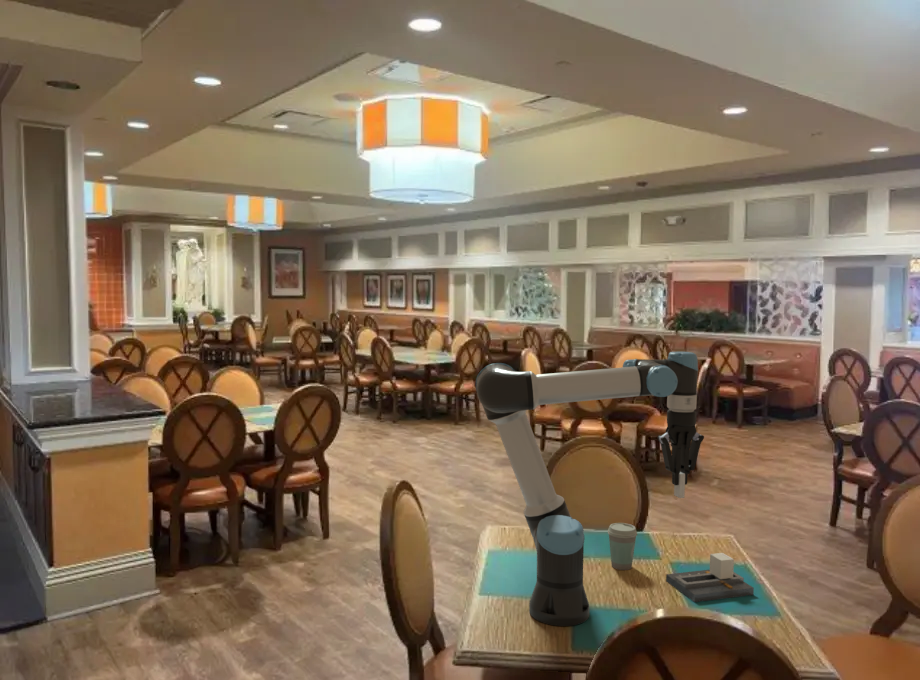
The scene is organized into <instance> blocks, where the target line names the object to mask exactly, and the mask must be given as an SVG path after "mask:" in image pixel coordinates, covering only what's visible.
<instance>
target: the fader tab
mask: <svg viewBox="0 0 920 680" xmlns="http://www.w3.org/2000/svg"><path fill="white" fill-rule="evenodd" d="M734 561H735V559H734V558H732V557H731V556H729V555H727V554H725V553H724V552H717V553H710V554H709V570H710V573H712V574H713V575H715V579H727V578H733V572H734V567H735V565H734V564H735V562H734Z"/></svg>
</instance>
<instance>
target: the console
mask: <svg viewBox="0 0 920 680" xmlns="http://www.w3.org/2000/svg"><path fill="white" fill-rule="evenodd" d="M665 578H666V579H665V580H666V581H665V582H666V583H668V584H669V585H670V586H672V587H673V588H675V589H676V590H678V592H680V593H681V594H683V595H684V596H685V597H687V598H688V599H689V600H691V601H692V602H694V603H699V602H707V601H714V600H716V601H717V600H722V599H730V598H731V599H732V598H740V597H741V598H742V597H747V596H748V595H749V596H754V594H755V592H754V591H755V588H754V587H753V586H752V585H750V584H748V583H747V582H745V581H744V580H745V578H744V577H743V576H741V575H740V574H737V572H735V571H733V578H727V579H715V575H713V574H712V573H710V569H704V570H703V569H702V570H693V571H684V572H677V573H674V572H673V573H668V574H667V573H666V574H665ZM746 595H747V596H746Z"/></svg>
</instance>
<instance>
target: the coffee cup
mask: <svg viewBox="0 0 920 680" xmlns="http://www.w3.org/2000/svg"><path fill="white" fill-rule="evenodd" d="M607 534H608V539H609V541H608V543H609V551H610V560H611V561H610V562H611V568H613V569H615V570H618V571H619V570H620V571H627V570H628V571H629V570H631V569H632V567H633V562H634V554H635V545H636V539H637V536H638V532H637V527H636V526H635V525H633V524H630V523H625V522H615V523H611V524H610V525H609V527H608V529H607Z"/></svg>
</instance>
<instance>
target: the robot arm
mask: <svg viewBox="0 0 920 680" xmlns="http://www.w3.org/2000/svg"><path fill="white" fill-rule="evenodd" d="M698 361H699V360H698V355H697V354H696V353H695V352H691V351H670V352H669V353H668V356H667V358H666V359H665V358H664V359H646V358H645V359H643V358H642V359H641V358H635V359H626V360H624V361H623V363H622V367H614V368H613V367H611V368H601V369H600V368H599V369H587V370H575V371H566V372H563V371H562V372H554V373H552V372H551V373H541V374H540V373H539V374H535V373H534V372H533V371H531V370H530V371H527V370H526V371H517V370H516V369H514V368H513V367H512V366H511V365H509V364H506V363H502V362H496V363H491V364H488V365H486V366H485V367H484V368H482V369H481V370H480V372H479V373H478V374H477V376H476V379H475V390H476V394H477V395H476V396H477V398H478V401H479V403H480V404H481V406H482V407H483V411H484V413H485V416H486V418H487V421H489V422H491V423H493V424H495V426H496V429H497V431H498V434H499V436H500V440H501V442H502V444H503V447H504V450H505V452H506V456H507V457H508V460H509V462H510V466H511V468H512V471H513V473H514V476H515V479H516V481H517V483H518V487H519V490H520V491H521V495H522V497H523V500H524V502H525V507H524V510H523V516H524V518H525V521H526V523H527V526H528V528H529V532H530V534H531V537H532V539H533V542H534V547H535V550H536V581H535V582H536V583H535V586H534V588H533V591H532V594H531V597H530V599H529V609H528V611H529V614H530V616H531V617H532V618H533V619H535V620H536V621H538V622H541V623H543V624H547V625H550V626H557V627H559V626H560V627H569V626H576V625H581V624H583V623H585V622H586V621H587V620H589V618H590V604H589V600H588V597H587V593H586V589H585V586H584V553H585V552H584V550H585V549H584V546H585V545H584V544H585V540H586V539H585V533H584V527H583V525H582V523H581V522H580V521H579V520H577V519H575V518H573V517H572V515H571V513H570V511H569V508H568V505H567V502H566V500H565V498H564V497H563V496H561V495H559V494H557V493H556V490H555V487H554V484H553V482H552V479H551V477H550V474H549V471H548V469H547V465H546V463H545V461H544V458H543V455H542V453H541V450H540V448H539V445H538V442H537V440H536V436H535V435H534V432H533V429H532V426H531V424H530V421H529V419H528V416H527V411H531V410H535V409H536V408H537V407H538V406H543V405H555V404H563V403H574V402H576V403H577V402H588V401H597V400H609V399H620V398H631V397H632V398H634V397H647V396H654V397H658V398H665V397H667V399H666V407H667V408H668V409H667V411H666V424H667V427H666V429H665V433H663V434H662V435H658V436H657V440H658V442H659V443H660V446H661V447H660V448H661V453H662V456H663V462H664V468H665V470H667V471H669V472H671V473H672V474H671V484H672V485H673V488H674V489H673V495H674V497H677V498H679V499H685V497H686V496H685V493H686V491H685V490H686V489H685V488H686V485H688V475H689V474H690V473H691V471H694V470H695V468H696V464H697V461H698V458H699V457H698V456H699V452H700V448H701V444H702V442H703V441H704V439H705V436H704V435H703V434H700V433H699V432H697V428H696V425H697V412H696V411H695V410H697V401H698V400H697V398H698V397H697V396H698V395H697V394H698V391H697V389H698V377H699V376H698V373H699V363H698Z"/></svg>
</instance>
